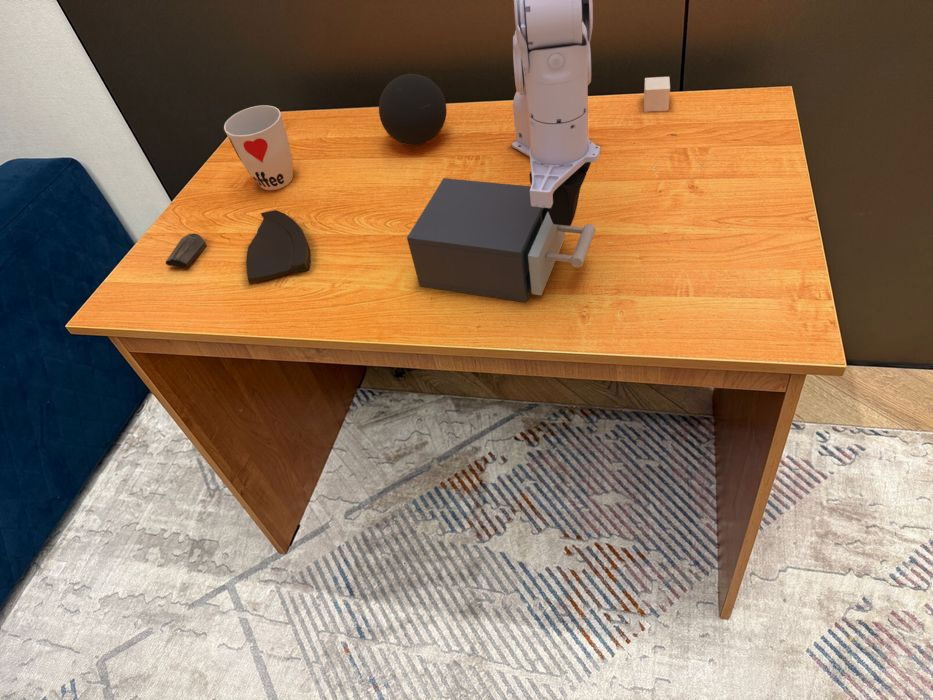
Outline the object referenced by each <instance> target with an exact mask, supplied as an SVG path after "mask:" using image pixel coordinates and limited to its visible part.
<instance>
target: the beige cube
mask: <svg viewBox="0 0 933 700" xmlns="http://www.w3.org/2000/svg"><path fill="white" fill-rule="evenodd" d="M670 81H671V80H670V76H655V77H645V78H644V85H643V87H644V88H643V112H644V113H646V112H647V113H649V112H668V111H669V108H670V96H671V95H670V94H671V82H670Z"/></svg>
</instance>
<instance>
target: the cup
mask: <svg viewBox="0 0 933 700" xmlns="http://www.w3.org/2000/svg"><path fill="white" fill-rule="evenodd" d="M223 131H224V132H225V134H226V136H227V138H228V140H229V142H230V144H231V147H233V149H234V152H235V154H236V156H237V157H238V158H239V161H240V162H241V163H242V165H243V167H244V168H245V169H246V171H247V172H248V174H249V176H250V177H252V179H254V181H255V182H256V183H257V184H258V185H259V187H260V188H261V189H262V190H265V191H277V190H281V189H282V188H284V187H286V186H288V185H289V184H291V182H292V181H293V179H294V173H293V172H294V171H293V169H294V168H293V166H294V165H293V156H292V152H291V145H290V141H289V136H288V133H287V129H286V126H285V123H284V120H283V117H282V113H281V111H280V109H279V108H277V107H276V106H273V105H266V104H265V105H264V104H262V105H255V106H251V107H248V108H245V109H242V110H240V111H237V112H236V113H234V114H233V115H231V116H230V117H229V118H228V119H227V120H226V121H225V122H224V125H223Z"/></svg>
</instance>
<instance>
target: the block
mask: <svg viewBox="0 0 933 700" xmlns="http://www.w3.org/2000/svg"><path fill="white" fill-rule="evenodd" d="M206 247H207V242H206V240H205V239H204V238H203V237H202V236H201V235H200V234H198V233H188V234H186V235H185V236H183V237H182V238H181V239H180V240H179V241H178V243H177V244H176V246H175V247H174V248H173V250H172V252H171V253H170V255H169V256H168V257H167V259H166V261H165V263H166V265H167V266H168V267H169V266H170V267H178V268H189V267H190V265H191V264H192V263H193V262H195V260H196V259H197V258H198V257H199V255H200V254H201V253H202V252H203V251H204V250H205V249H206Z"/></svg>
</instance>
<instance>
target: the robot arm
mask: <svg viewBox="0 0 933 700" xmlns="http://www.w3.org/2000/svg"><path fill="white" fill-rule="evenodd" d="M513 10H514V23H515V30H514V34H513V36H512V57H513V58H512V59H513V72H514V73H513V74H514V83H515V90H516V92H515V93H514V97H513V100H512V112H513V122H514V131H515V141H514V142H512V143H511V147H512V148H513V149H515V150H517V151H518V152H520V153H522V154H524V155H526V156H527V157H529V162H530V164H529V165H530V172H529V183H530V186H531V188H530V200H531V206H533V207H541V208H547V210H548V212H549V215H550V218H551V220H552V222H553V224H556V225H564V226H572V223H573V221H574V219H575V216H576V212H577V207H578V203H579V197H580V193H581V187H582V185H583V183H584V181H585V179H586V177H587V173H588V172H589V169H590V167H591V164H592V163H595V162H597V161H598V160H599V159H600V156H601V147H600V146H599V145H597V144H596V143H595V142H593V141H592V140H590V137H589V91H588V88H589V87H588V86H589V85H590V84H591V83H592V53H591V40H592V34H593V28H594V27H593V25H594V3H593V0H513Z"/></svg>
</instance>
